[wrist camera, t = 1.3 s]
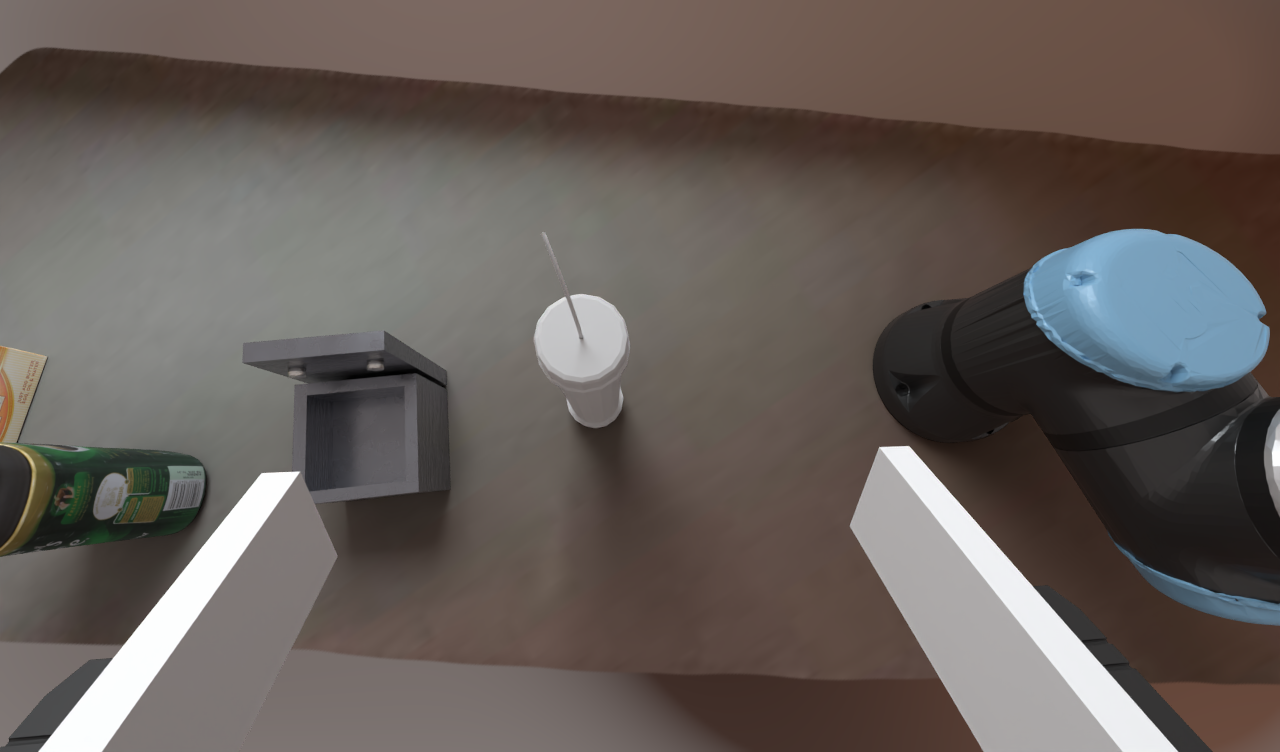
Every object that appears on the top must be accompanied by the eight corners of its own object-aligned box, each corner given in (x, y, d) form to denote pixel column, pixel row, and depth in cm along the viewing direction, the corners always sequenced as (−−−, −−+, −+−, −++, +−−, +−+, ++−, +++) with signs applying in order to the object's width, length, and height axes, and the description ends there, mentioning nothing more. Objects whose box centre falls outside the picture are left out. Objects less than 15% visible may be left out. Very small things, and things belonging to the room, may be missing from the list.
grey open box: (450, 489, 48) (385, 494, 34) (344, 501, 47) (234, 511, 33) (446, 370, 50) (383, 330, 36) (345, 380, 49) (243, 343, 36)
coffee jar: (93, 533, 45) (-254, 570, 27) (117, 447, 47) (-195, 428, 29) (200, 539, 46) (-71, 580, 28) (221, 454, 47) (-22, 440, 29)
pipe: (581, 438, 50) (537, 382, 20) (558, 383, 51) (482, 253, 21) (631, 416, 50) (657, 331, 21) (606, 362, 51) (599, 208, 22)
